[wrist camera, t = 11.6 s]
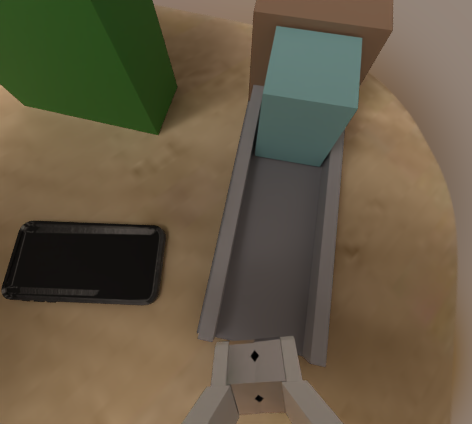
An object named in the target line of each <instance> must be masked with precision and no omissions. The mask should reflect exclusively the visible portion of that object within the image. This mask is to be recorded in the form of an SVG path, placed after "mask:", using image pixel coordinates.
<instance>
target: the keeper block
mask: <svg viewBox="0 0 472 424" xmlns="http://www.w3.org/2000/svg"><path fill="white" fill-rule="evenodd" d="M361 52H362V38H359V37H352V36H345V35H338V34H331V33H324V32H317V31H309V30H302V29H295V28H288V27H281V26H276V31H275V36H274V41H273V46H272V51H271V55H270V60H269V65H268V70H267V75H266V80H265V85H264V90H263V95H262V103H261V111H260V118H259V126H258V134H257V142H256V149H255V156H259V157H265V158H271V159H276V160H282V161H288V162H294V163H300V164H306V165H311V166H317V167H320V166H321V164H322V162H323V161H324V159H325V158H326V156H327V155H328V153H329V152H330V150H331V149H332V147H333V146H334V144H335V143H336V141H337V140H338V138H339V137H340V135H341V134H342V132H343V130H344V129H345V127H346V126H347V124H348V123H349V121H350V120H351V118H352V117H353V115H354V114H355V112H356V111H357V109H358V99H359V83H360V68H361Z"/></svg>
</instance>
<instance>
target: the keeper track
mask: <svg viewBox="0 0 472 424" xmlns="http://www.w3.org/2000/svg"><path fill="white" fill-rule="evenodd" d="M276 26H281V27H288V28H295V29H302V30H309V31H317V32H324V33H331V34H338V35H345V36H352V37H359V38H362V52H361V68H360V83H359V86H360V85H361V83H362V81H363V80H364V78H365V76H366V75H367V73H368V71H369V69H370V68H371V66H372V64H373V63H374V61H375V59H376V58H377V56H378V54H379V52H380V51H381V49H382V47H383V46H384V44H385V43H386V41H387V39H388V37H389V36H390V34H391V32H392V31H393V0H256V5H255V8H254V15H253V32H252V49H251V65H250V82H249V99H248V105H247V109H246V114H245V118H244V123H243V127H242V132H241V136H240V141H239V145H238V150H237V154H236V159H235V163H234V168H233V172H232V177H231V181H230V186H229V190H228V195H227V199H226V204H225V208H224V213H223V217H222V222H221V226H220V231H219V235H218V240H217V244H216V249H215V253H214V258H213V262H212V267H211V271H210V276H209V280H208V285H207V289H206V294H205V298H204V303H203V307H202V312H201V316H200V321H199V325H198V330H197V333H199V334H198V339H200V340H205V341H209V342H213V340H214V338H215V337H217V338H222V339H227V340H231V341H240V340H255V339H260V338H270V337H285V336H293V337H294V339H295V344H296V349H297V354H298V355H300V356H303V357H304V358H305V359H306V360H307V361H308V362H309V363H310V364H314V365H318V366H323V367H326V358H327V346H328V333H329V321H330V308H331V296H332V283H333V271H334V258H335V246H336V233H337V221H338V208H339V196H340V183H341V171H342V158H343V146H344V133H345V129H344V130H343V132H342V134H341V135H340V137H339V138H338V140H337V141H336V143H335V144H334V146H333V147H332V149H331V150H330V152H329V153H328V155H327V156H326V158H325V159H324V161H323V162H322V164H321V166H320V167H317V166H311V165H306V164H300V163H294V162H288V161H282V160H276V159H271V158H265V157H259V156H255V149H256V142H257V134H258V126H259V118H260V111H261V103H262V95H263V90H264V85H265V80H266V75H267V70H268V65H269V60H270V55H271V51H272V46H273V41H274V36H275V31H276Z"/></svg>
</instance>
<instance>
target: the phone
mask: <svg viewBox="0 0 472 424" xmlns="http://www.w3.org/2000/svg"><path fill="white" fill-rule="evenodd" d="M165 241H166V234H165V232H164V231H163V230H162V229H161V228H160V227H158V226H154V225H130V224H103V223H77V222H51V221H29V222H27V223H25V224H24V225H23V226H22V227H21V228H20V230H19V233H18V236H17V239H16V243H15V246H14V249H13V252H12V256H11V259H10V262H9V265H8V269H7V272H6V275H5V278H4V282H3V285H2V290H1V291H2V295H3V296H4V297H5V298H6V299H10V300H22V301H29V300H32V301H37V302H45V301H47V302H78V303H101V304H124V305H149V304H151V303H153V302H154V301H155V300H156V299H157V297H158V295H159V289H160V281H161V273H162V265H163V257H164V249H165Z"/></svg>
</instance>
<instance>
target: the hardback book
mask: <svg viewBox="0 0 472 424" xmlns="http://www.w3.org/2000/svg"><path fill="white" fill-rule="evenodd" d="M0 84H1V85H2V86H3V87H4V88H5V89H6V90H8V91H9V92H10V93H11V94H12V95H13V96H14V97H15V98H17V99H18V100H19V101H20V102H21V103H22V104H23V105H25V106H29V107H33V108H38V109H42V110H47V111H52V112H56V113H61V114H65V115H70V116H74V117H79V118H83V119H88V120H92V121H97V122H101V123H106V124H110V125H115V126H119V127H124V128H128V129H133V130H137V131H142V132H146V133H151V134H155V135H158V134H159V132H160V129H161V127H162V124H163V122H164V119H165V117H166V114H167V112H168V109H169V107H170V104H171V102H172V99H173V97H174V94H175V92H176V89H177V84H176V80H175V77H174V73H173V70H172V66H171V63H170V59H169V56H168V53H167V49H166V46H165V42H164V39H163V35H162V32H161V28H160V25H159V21H158V18H157V14H156V11H155V8H154V4H153V1H152V0H0Z"/></svg>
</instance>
